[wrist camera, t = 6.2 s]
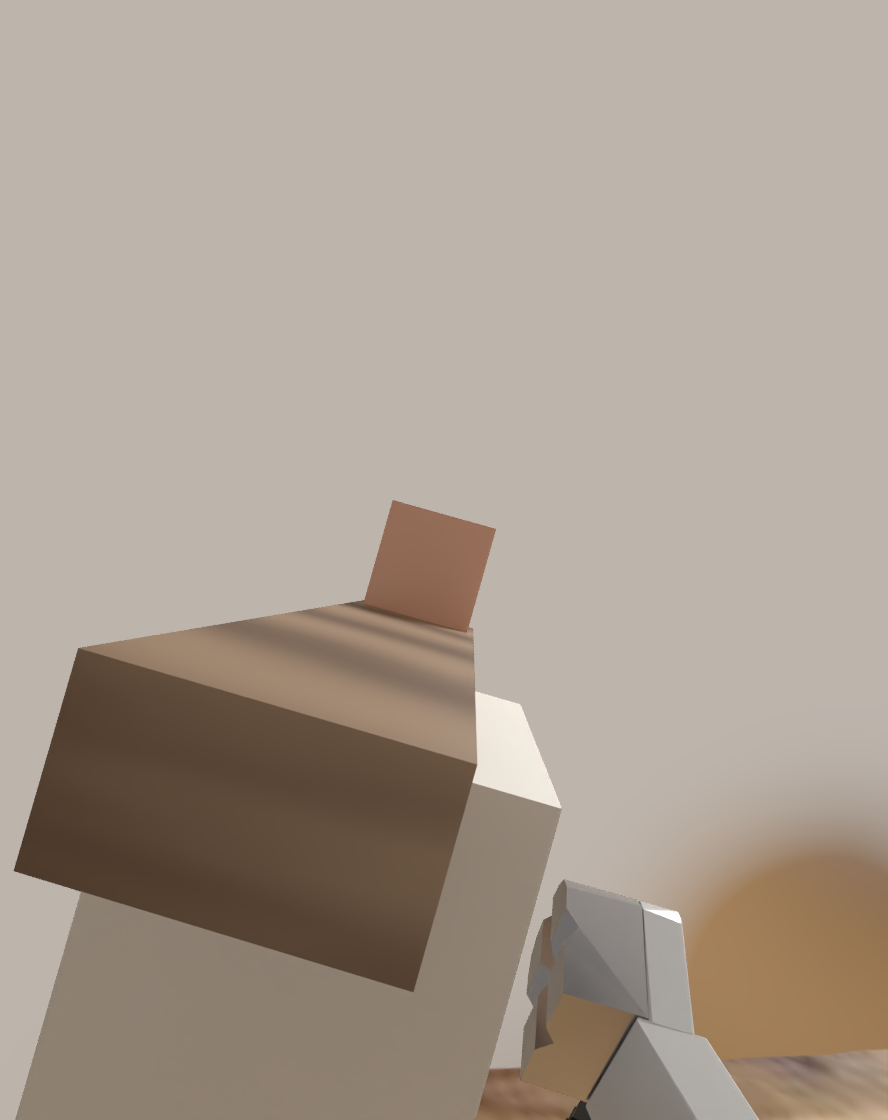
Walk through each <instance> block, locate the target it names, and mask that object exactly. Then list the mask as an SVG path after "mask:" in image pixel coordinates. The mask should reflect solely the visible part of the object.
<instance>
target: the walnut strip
mask: <svg viewBox="0 0 888 1120" xmlns="http://www.w3.org/2000/svg"><path fill="white" fill-rule="evenodd" d="M476 768H477V736H476V705H475V673H474V642H473V629H472V628H469V627H468V630H467V633H466V632H463V631H459V630H456V629H452V628H449V627H445V626H442V625H438V624H435V623H431V622H428V621H424V620H421V619H417V618H413V617H410V616H406V615H403V614H399V613H396V612H392V611H389V610H385V609H382V608H378V607H375V606H371V605H368V604H364V600H363V601H357V602H351V603H345V604H339V605H333V606H327V607H321V608H315V609H309V610H303V611H297V612H291V613H285V614H279V615H273V616H268V617H261V618H256V619H249V620H244V621H237V622H231V623H226V624H220V625H213V626H207V627H202V628H196V629H190V630H184V631H178V632H172V633H166V634H160V635H154V636H148V637H142V638H136V639H131V640H124V641H118V642H112V643H106V644H100V645H95V646H88V647H82V648H78V651H77V654H76V658H75V661H74V665H73V668H72V672H71V675H70V679H69V682H68V686H67V689H66V692H65V696H64V699H63V703H62V706H61V710H60V713H59V717H58V720H57V723H56V727H55V730H54V734H53V737H52V741H51V744H50V748H49V751H48V755H47V758H46V761H45V765H44V768H43V772H42V775H41V779H40V782H39V786H38V789H37V792H36V796H35V799H34V803H33V806H32V810H31V813H30V817H29V820H28V824H27V827H26V830H25V834H24V838H23V841H22V844H21V848H20V851H19V855H18V858H17V862H16V865H15V869H14V871H15V872H19V873H22V874H25V875H28V876H32V877H35V878H39V879H42V880H45V881H48V882H52V883H55V884H58V885H62V886H65V887H68V888H71V889H75V890H78V891H81V892H84V893H88V894H91V895H94V896H98V897H101V898H104V899H107V900H111V901H114V902H117V903H121V904H124V905H127V906H130V907H134V908H137V909H140V910H144V911H147V912H150V913H154V914H157V915H160V916H163V917H167V918H170V919H173V920H177V921H180V922H183V923H186V924H190V925H193V926H196V927H200V928H203V929H206V930H210V931H213V932H216V933H219V934H223V935H226V936H229V937H233V938H236V939H239V940H242V941H246V942H249V943H252V944H256V945H259V946H262V947H266V948H269V949H272V950H275V951H279V952H282V953H285V954H289V955H292V956H295V957H298V958H302V959H305V960H308V961H312V962H315V963H318V964H322V965H325V966H328V967H331V968H335V969H338V970H341V971H345V972H348V973H351V974H354V975H358V976H361V977H364V978H368V979H371V980H374V981H377V982H381V983H384V984H387V985H391V986H394V987H397V988H401V989H404V990H407V991H410V992H414V989H415V985H416V981H417V978H418V974H419V971H420V967H421V964H422V960H423V957H424V953H425V949H426V946H427V942H428V939H429V935H430V932H431V928H432V924H433V921H434V917H435V914H436V910H437V907H438V903H439V900H440V896H441V892H442V889H443V885H444V882H445V878H446V875H447V871H448V868H449V864H450V860H451V857H452V853H453V850H454V846H455V843H456V839H457V835H458V832H459V828H460V825H461V821H462V818H463V814H464V811H465V807H466V803H467V800H468V796H469V793H470V789H471V786H472V782H473V778H474V775H475V771H476Z"/></svg>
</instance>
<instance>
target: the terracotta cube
mask: <svg viewBox="0 0 888 1120" xmlns="http://www.w3.org/2000/svg"><path fill="white" fill-rule="evenodd" d="M495 531H496V529H494V528H490V527H487V526H483V525H480V524H476V523H472V522H468V521H465V520H462V519H458V518H455V517H451V516H447V515H444V514H440V513H437V512H433V511H429V510H426V509H422V508H419V507H415V506H411V505H408V504H404V503H401V502H397V501H394V500H393V501H392V505H391V508H390V512H389V515H388V519H387V522H386V526H385V529H384V533H383V537H382V540H381V544H380V547H379V551H378V554H377V558H376V561H375V565H374V569H373V572H372V575H371V579H370V582H369V586H368V589H367V593H366V596H365V600H364V604H368V605H371V606H375V607H378V608H382V609H385V610H389V611H392V612H396V613H399V614H403V615H406V616H410V617H413V618H417V619H421V620H424V621H428V622H431V623H435V624H438V625H442V626H445V627H449V628H452V629H456V630H459V631H463V632H466V633H467V630H468V627H469V623H470V620H471V616H472V612H473V608H474V605H475V602H476V598H477V595H478V591H479V587H480V584H481V581H482V577H483V573H484V570H485V566H486V563H487V559H488V556H489V552H490V549H491V545H492V541H493V538H494V534H495Z"/></svg>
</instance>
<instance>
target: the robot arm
mask: <svg viewBox="0 0 888 1120" xmlns="http://www.w3.org/2000/svg"><path fill="white" fill-rule="evenodd" d="M527 995H528V997H529V999H530V1001H531V1003H532V1005H533V1009H532V1011H531V1013H530V1015H529V1017H528V1020H527V1022H526V1024H525V1026H524V1034H523V1047H522V1062H521V1075H520V1080H521V1081H524V1082H527V1083H530V1084H533V1085H536V1086H539V1087H542V1088H545V1089H548V1090H551V1091H554V1092H557V1093H560V1094H563V1095H566V1096H569V1097H572V1098H575V1099H578V1100H581V1101H584V1102H587V1104H586V1108H587V1111H588V1113H589V1116H590V1118H591V1120H759V1119H758V1117H757V1116H756V1114H755V1113H754V1111H753V1110H752V1108H751V1106H750V1105H749V1103H748V1102H747V1100H746V1099H745V1097H744V1096H743V1094H742V1093H741V1091H740V1090H739V1088H738V1086H737V1085H736V1083H735V1082H734V1080H733V1079H732V1077H731V1076H730V1074H729V1073H728V1071H727V1070H726V1068H725V1066H724V1065H723V1063H722V1062H721V1060H720V1059H719V1057H718V1056H717V1054H716V1053H715V1051H714V1049H713V1048H712V1046H711V1045H710V1043H709V1042H708V1040H707V1039H706V1038H704V1037H701V1036H698V1035H695V1034H694V1027H693V1017H692V1009H691V1000H690V991H689V981H688V972H687V963H686V954H685V946H684V936H683V928H682V920H681V918H680V916H679V914H678V912H676V911H672V910H669V909H665V908H662V907H659V906H655V905H652V904H648V903H644V902H641V901H637V900H635V899H632V898H628V897H625V896H621V895H618V894H614V893H611V892H607V891H603V890H600V889H596V888H593V887H589V886H586V885H582V884H579V883H574V882H571V881H568V880H563V881H562V882H561V884H560V885H559V886H558V888H557V891H556V893H555V895H554V897H553V909H552V916H550V917H549V918H546V919H544V920H543V922H542V925H541V927H540V930H539V932H538V935H537V937H536V941H535V945H534V949H533V953H532V956H531V962H530V968H529V974H528V985H527Z"/></svg>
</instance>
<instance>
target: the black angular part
mask: <svg viewBox="0 0 888 1120" xmlns="http://www.w3.org/2000/svg"><path fill="white" fill-rule="evenodd" d="M586 1104H587V1102H584V1101H581V1100H580V1102H579V1104H578V1106H577V1107H575V1108H574V1109H573V1111H572V1113H571V1115H570V1117H569V1118H566V1120H591V1118H590V1116H589V1113H588V1111H587V1108H586Z"/></svg>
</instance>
